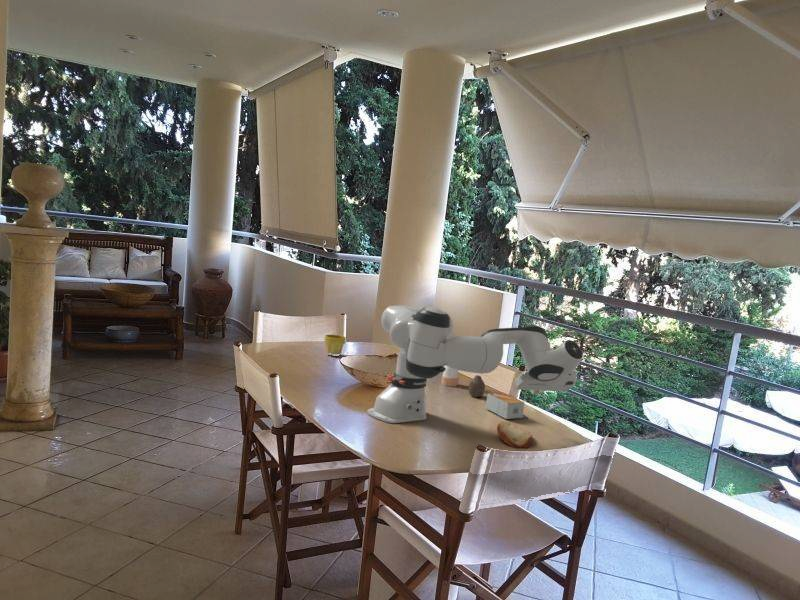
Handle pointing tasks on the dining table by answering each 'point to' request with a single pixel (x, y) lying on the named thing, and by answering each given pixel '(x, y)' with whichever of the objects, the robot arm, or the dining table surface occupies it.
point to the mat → (518, 418)
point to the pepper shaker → (450, 376)
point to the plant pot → (334, 343)
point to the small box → (505, 405)
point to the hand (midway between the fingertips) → (534, 392)
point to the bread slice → (514, 435)
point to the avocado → (476, 387)
